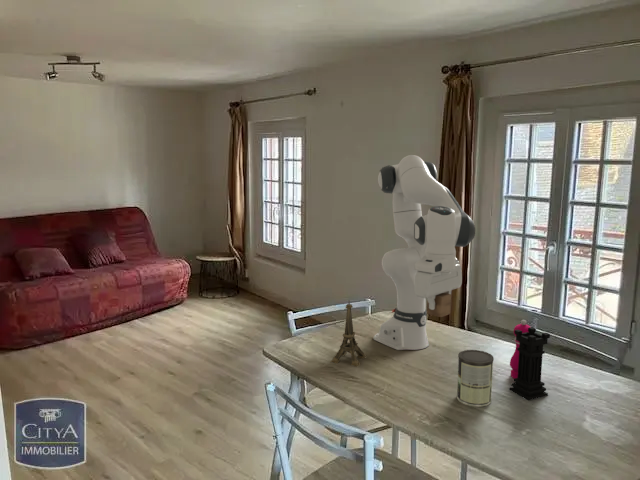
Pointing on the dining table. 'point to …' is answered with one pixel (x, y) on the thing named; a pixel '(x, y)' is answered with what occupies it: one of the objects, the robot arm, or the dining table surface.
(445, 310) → the walnut block
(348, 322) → the eiffel tower
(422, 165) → the robot arm
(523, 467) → the dining table surface
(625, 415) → the dining table surface
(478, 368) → the coffee can
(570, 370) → the dining table surface
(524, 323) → the pepper mill
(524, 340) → the chess piece
